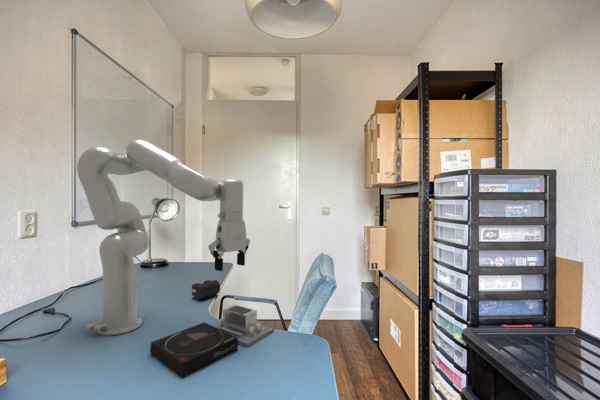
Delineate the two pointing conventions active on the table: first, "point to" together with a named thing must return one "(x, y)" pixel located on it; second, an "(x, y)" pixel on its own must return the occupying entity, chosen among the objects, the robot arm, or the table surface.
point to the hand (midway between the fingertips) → (230, 267)
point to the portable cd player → (193, 348)
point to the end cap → (205, 289)
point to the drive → (239, 319)
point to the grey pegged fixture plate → (249, 338)
